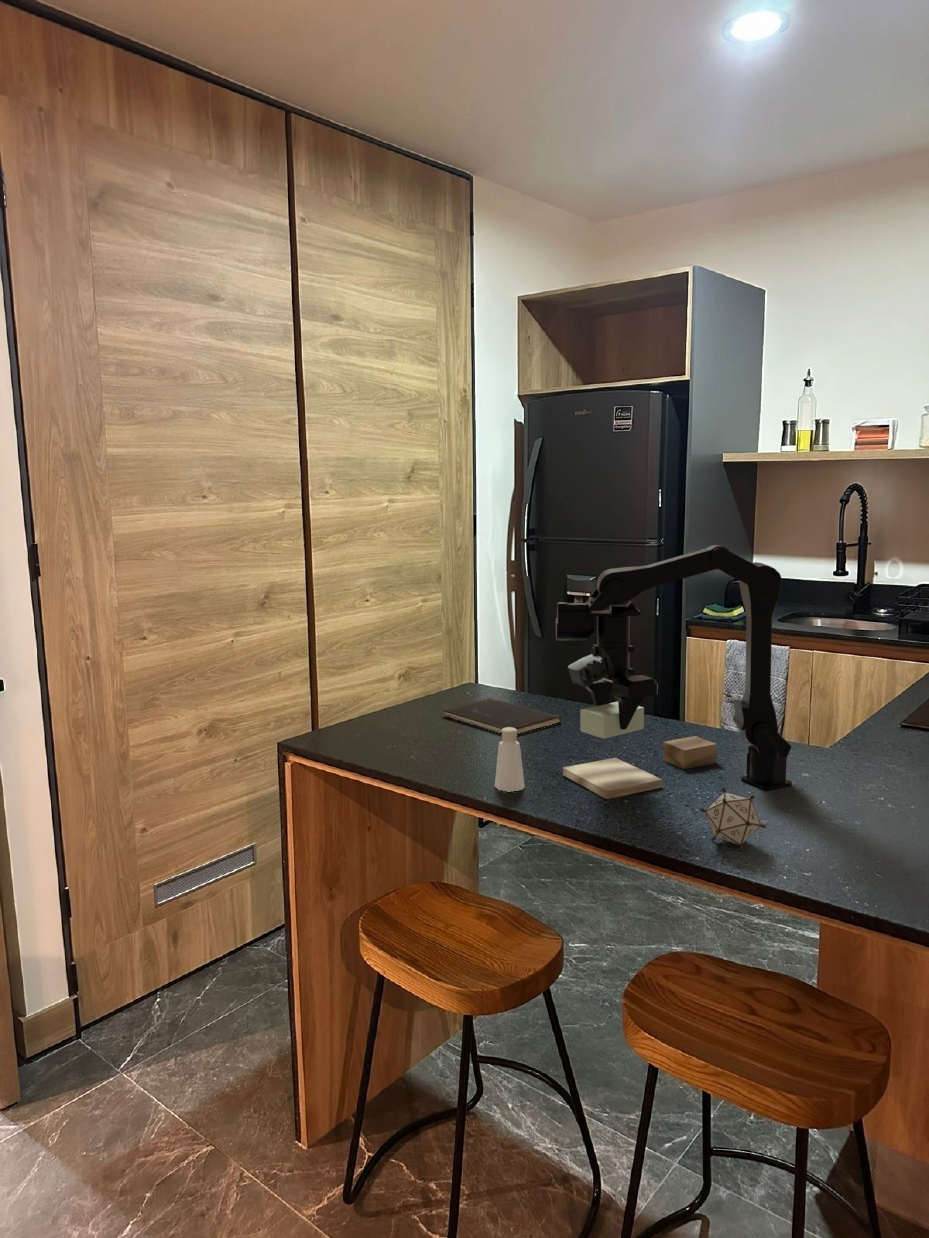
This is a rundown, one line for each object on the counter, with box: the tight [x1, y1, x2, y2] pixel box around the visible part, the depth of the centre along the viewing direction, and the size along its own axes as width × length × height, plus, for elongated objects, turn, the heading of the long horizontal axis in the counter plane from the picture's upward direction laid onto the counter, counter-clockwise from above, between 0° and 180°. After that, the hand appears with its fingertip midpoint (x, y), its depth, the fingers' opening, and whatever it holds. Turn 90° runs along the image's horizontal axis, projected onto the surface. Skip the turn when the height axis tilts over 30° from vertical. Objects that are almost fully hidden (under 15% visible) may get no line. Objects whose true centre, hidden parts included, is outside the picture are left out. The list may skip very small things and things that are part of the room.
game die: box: [698, 786, 767, 851], centre depth 132 cm, size 9×8×10 cm
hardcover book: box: [441, 697, 562, 734], centre depth 201 cm, size 16×23×2 cm
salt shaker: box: [494, 727, 525, 793], centre depth 157 cm, size 5×5×11 cm
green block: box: [579, 701, 645, 740], centre depth 158 cm, size 6×10×4 cm, turn 125°
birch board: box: [562, 757, 663, 800], centre depth 160 cm, size 14×12×2 cm
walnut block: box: [663, 735, 718, 770], centre depth 170 cm, size 6×8×4 cm
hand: (612, 724), depth 158 cm, fingers closed on green block, 6 cm apart
